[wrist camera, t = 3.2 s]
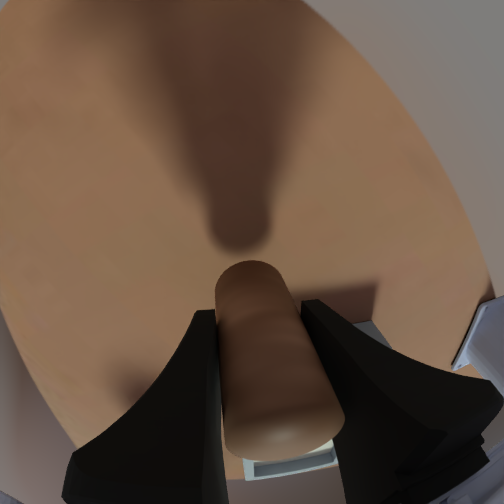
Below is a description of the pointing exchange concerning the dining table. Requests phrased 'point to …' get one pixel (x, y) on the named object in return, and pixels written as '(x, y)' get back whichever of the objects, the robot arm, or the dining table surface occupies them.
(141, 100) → the dining table surface
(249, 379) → the peg
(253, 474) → the box
